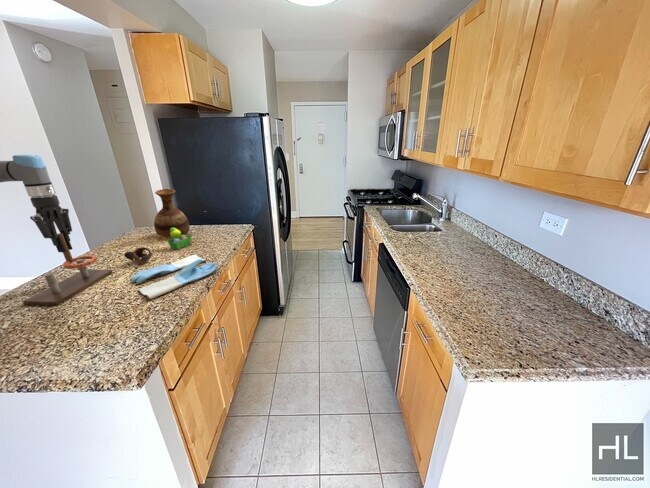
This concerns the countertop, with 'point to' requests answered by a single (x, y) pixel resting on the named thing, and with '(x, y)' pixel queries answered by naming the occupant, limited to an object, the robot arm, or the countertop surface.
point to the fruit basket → (178, 239)
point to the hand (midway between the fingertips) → (65, 250)
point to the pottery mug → (138, 255)
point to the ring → (70, 260)
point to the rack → (67, 286)
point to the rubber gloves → (171, 283)
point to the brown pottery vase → (169, 215)
